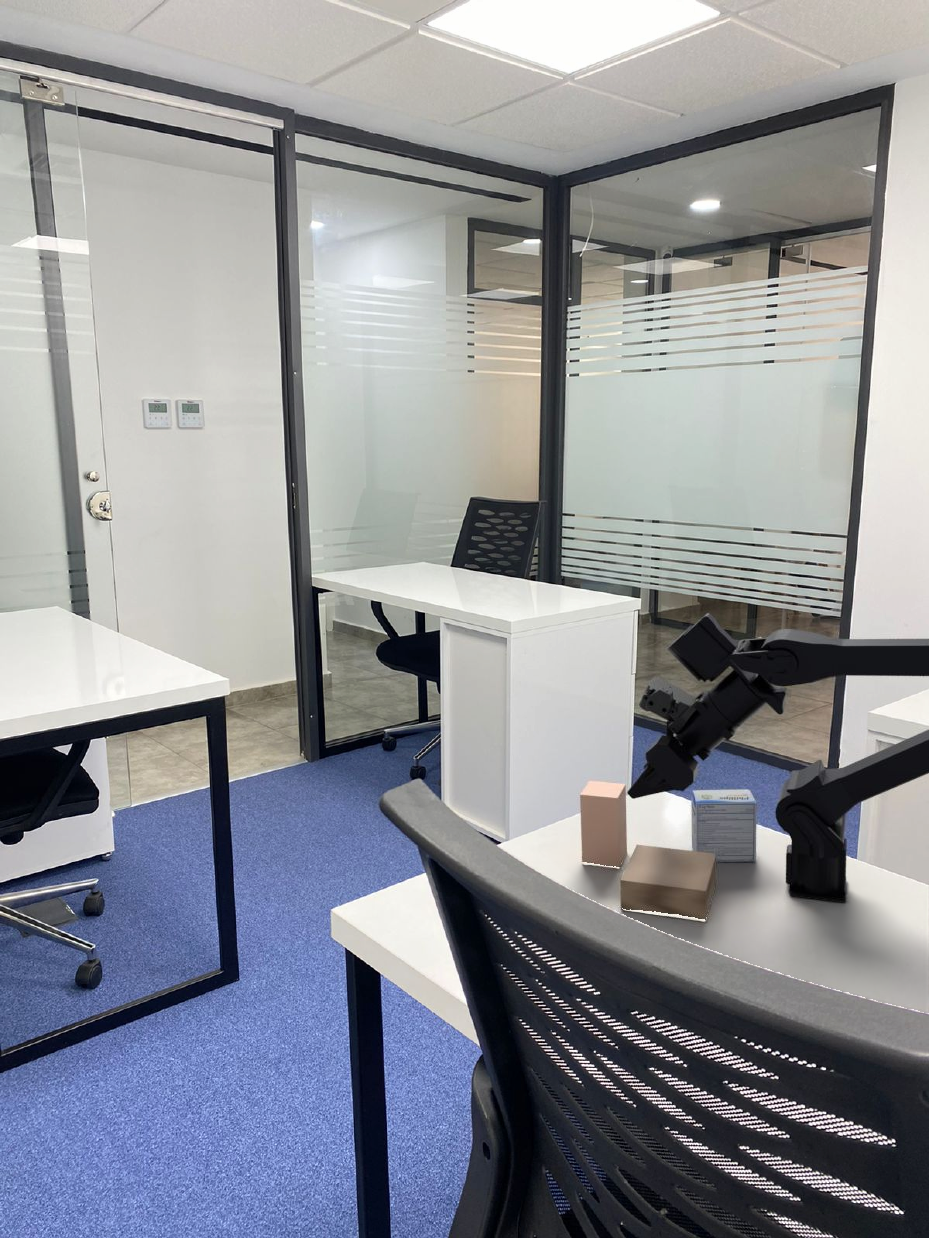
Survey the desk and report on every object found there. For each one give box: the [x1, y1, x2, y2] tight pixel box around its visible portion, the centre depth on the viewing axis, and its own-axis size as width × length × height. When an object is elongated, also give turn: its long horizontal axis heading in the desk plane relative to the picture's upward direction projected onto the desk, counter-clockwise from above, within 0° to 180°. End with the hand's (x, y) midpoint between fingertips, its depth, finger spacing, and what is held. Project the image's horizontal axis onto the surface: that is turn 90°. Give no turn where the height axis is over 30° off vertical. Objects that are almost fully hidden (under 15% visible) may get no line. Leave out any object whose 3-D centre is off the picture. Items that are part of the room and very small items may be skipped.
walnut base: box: [620, 844, 717, 921], centre depth 114 cm, size 10×10×4 cm
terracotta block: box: [579, 780, 628, 868], centre depth 124 cm, size 5×5×10 cm
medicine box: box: [690, 789, 758, 863], centre depth 123 cm, size 8×4×9 cm, turn 84°
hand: (638, 782), depth 121 cm, fingers open, 9 cm apart
